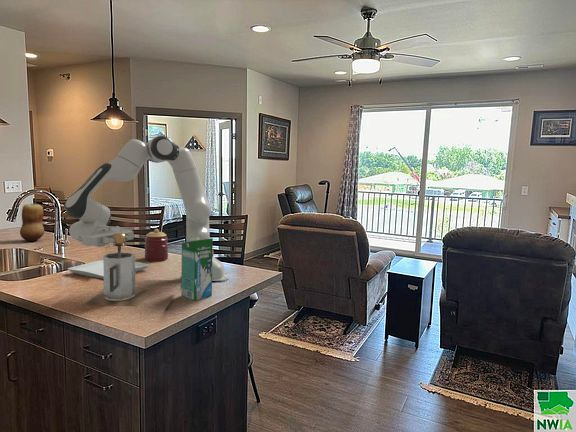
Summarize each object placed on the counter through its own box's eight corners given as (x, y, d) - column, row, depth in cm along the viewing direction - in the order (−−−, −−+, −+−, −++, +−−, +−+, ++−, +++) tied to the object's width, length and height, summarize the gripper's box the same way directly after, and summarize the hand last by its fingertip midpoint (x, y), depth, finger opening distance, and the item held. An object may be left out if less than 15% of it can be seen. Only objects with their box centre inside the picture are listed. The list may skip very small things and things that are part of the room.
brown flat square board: (152, 292, 166) (152, 289, 166) (137, 309, 146) (137, 305, 146) (104, 292, 165) (103, 288, 164) (82, 309, 145) (82, 305, 145)
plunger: (132, 290, 159) (132, 232, 156) (126, 296, 152) (125, 235, 149) (113, 290, 159) (112, 232, 156) (106, 296, 151) (105, 235, 148)
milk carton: (198, 291, 171) (199, 234, 168) (211, 296, 165) (212, 237, 162) (181, 295, 164) (181, 237, 161) (194, 301, 158) (195, 240, 155)
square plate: (150, 271, 201) (150, 263, 201) (106, 284, 177) (106, 275, 176) (112, 263, 213) (112, 256, 212) (66, 275, 188) (65, 267, 187)
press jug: (138, 292, 161) (138, 252, 159) (126, 304, 147) (126, 261, 145) (110, 292, 160) (110, 252, 158) (96, 304, 146) (95, 260, 144)
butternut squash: (38, 243, 255) (37, 205, 252) (16, 242, 253) (14, 204, 250) (48, 239, 269) (47, 203, 266) (27, 239, 267) (25, 202, 264)
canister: (161, 262, 218) (161, 231, 216) (140, 260, 220) (139, 229, 218) (172, 257, 231) (172, 228, 229) (151, 255, 233) (151, 226, 231)
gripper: (73, 230, 150) (95, 235, 143) (120, 225, 167) (142, 229, 160) (74, 247, 151) (96, 252, 144) (120, 239, 168) (142, 244, 161)
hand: (120, 239), depth 152 cm, fingers closed on plunger, 4 cm apart
